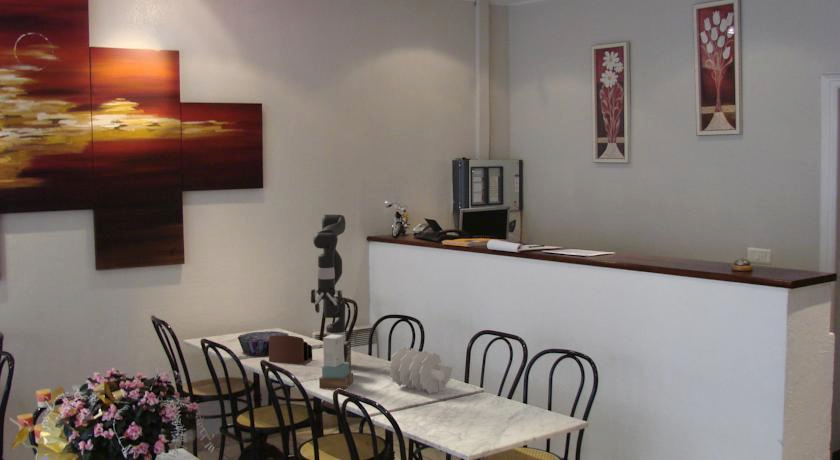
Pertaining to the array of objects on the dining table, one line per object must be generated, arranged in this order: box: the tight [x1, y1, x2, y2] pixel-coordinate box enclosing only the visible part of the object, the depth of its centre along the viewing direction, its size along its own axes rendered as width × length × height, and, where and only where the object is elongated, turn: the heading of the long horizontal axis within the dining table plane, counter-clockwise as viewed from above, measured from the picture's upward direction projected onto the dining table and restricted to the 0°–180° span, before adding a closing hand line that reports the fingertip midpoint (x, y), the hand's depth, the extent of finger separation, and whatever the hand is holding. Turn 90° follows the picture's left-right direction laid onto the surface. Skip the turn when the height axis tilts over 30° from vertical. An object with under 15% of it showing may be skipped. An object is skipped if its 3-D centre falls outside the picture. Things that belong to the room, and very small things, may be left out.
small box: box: [322, 334, 344, 367], centre depth 382 cm, size 8×6×13 cm
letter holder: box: [268, 334, 313, 365], centre depth 432 cm, size 10×20×14 cm, turn 70°
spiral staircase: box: [388, 345, 453, 394], centre depth 375 cm, size 18×18×25 cm
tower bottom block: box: [318, 372, 354, 390], centre depth 384 cm, size 12×12×5 cm
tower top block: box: [321, 362, 349, 379], centre depth 384 cm, size 10×10×5 cm
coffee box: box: [344, 340, 352, 373], centre depth 399 cm, size 9×6×16 cm
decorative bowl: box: [237, 330, 290, 355], centre depth 456 cm, size 26×28×10 cm
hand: (326, 312), depth 383 cm, fingers open, 8 cm apart
